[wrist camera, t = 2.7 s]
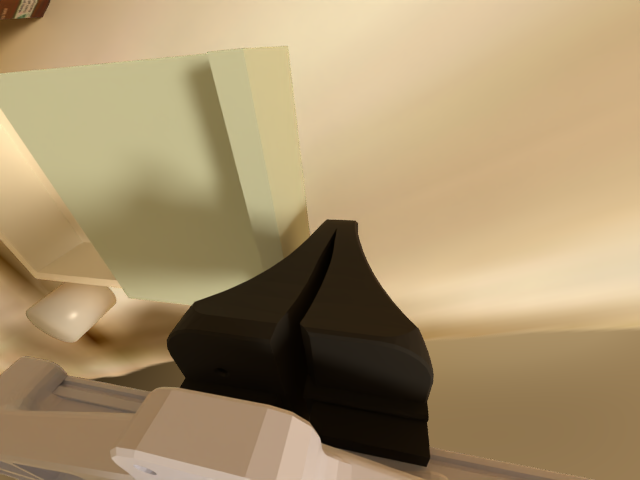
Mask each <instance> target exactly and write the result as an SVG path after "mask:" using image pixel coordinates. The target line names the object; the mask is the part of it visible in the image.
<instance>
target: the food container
mask: <svg viewBox="0 0 640 480" xmlns="http://www.w3.org/2000/svg"><path fill="white" fill-rule="evenodd" d="M49 3H50V0H0V19H18V18H37V17H43V15H44V13H45V11H46V9H47V7H48V5H49Z"/></svg>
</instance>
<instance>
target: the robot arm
mask: <svg viewBox="0 0 640 480" xmlns="http://www.w3.org/2000/svg"><path fill="white" fill-rule="evenodd" d="M167 347H168V350H169V352H170V355H171V356H172V358H173V359H174V361H175V362H176V364H177V365H178V367H179V368H180V370H181V372H182V373H183V375H184V376H185V380H184V382H183V383H182V385H181V387H180V388H177V387H160V388H157V389H155V390H153V391H152V392H149V391H144V390H138V389H134V388H128V387H124V386H119V385H113V384H108V383H103V382H98V381H93V380H88V379H83V378H78V377H73V376H68V375H67V373H66V372H65V371H64V370H63V369H62V368H61V367H60V366H59V365H57V364H56V363H54V362H51V361H48V360H44V359H39V358H33V357H28V356H23V357H21V358H19V359H18V360H17V361H16V362H15V363H14V364H12V365H11V366H10V367H9V368H8V369H7V370H5V371H4V372H3V373H2V374H1V375H0V474H3V475H6V476H9V477H12V478H15V479H18V480H593V479H588V478H583V477H578V476H573V475H568V474H563V473H558V472H553V471H547V470H543V469H538V468H533V467H528V466H522V465H518V464H513V463H507V462H502V461H497V460H492V459H487V458H482V457H477V456H472V455H467V454H462V453H457V452H452V451H447V450H442V449H437V448H432V447H429V438H428V428H427V422H428V406H427V400H428V397H429V394H430V390H431V387H432V384H433V368H432V364H431V360H430V357H429V353H428V350H427V348H426V345H425V342H424V340H423V337H422V335H421V333H420V330H419V328H417V327H416V326H415V325H414V324H413V323H412V322H411V321H410V320H409V319H408V318H407V317H406V316H405V315H404V314H403V312H402V311H401V310H400V309H399V308H398V307H397V306H396V304H395V303H394V302H393V301H392V300H391V298H390V297H389V296H388V294H387V293H386V292H385V290H384V289H383V288H382V286H381V285H380V283H379V282H378V280H377V278H376V277H375V275H374V273H373V272H372V270H371V268H370V266H369V264H368V262H367V259H366V257H365V255H364V252H363V250H362V246H361V243H360V240H359V236H358V223H357V222H356V221H350V220H326V221H325V222H324V223H323V224H322V225H321V226H320V227H319V228H318V229H317V230H316V231H315V232H314V233H313V234H312V235H311V236H310V237H309V238H308V239H307V240H306V241H305V242H303V243H302V244H301V245H300V246H299V247H298V248H297V249H295V250H294V251H293V252H292V253H291V254H290V255H288V256H287V257H286V258H284V259H283V260H281V261H280V262H278V263H277V264H275V265H274V266H272V267H271V268H269V269H268V270H266V271H264V272H262V273H260V274H259V275H257V276H255V277H253V278H252V279H250V280H248V281H246V282H243V283H241V284H239V285H237V286H235V287H232V288H230V289H228V290H225V291H223V292H220V293H218V294H215V295H212V296H209V297H207V298H204V299H201V300H198V301H195V302H194V303H193V304H192V305H191V307H190V308H189V309H188V311H187V312H186V313H185V315H184V316H183V317H182V319H181V320H180V321H179V323H178V324H177V325H176V327H175V328H174V329H173V331H172V332H171V333H170V335H169V337H168V339H167Z"/></svg>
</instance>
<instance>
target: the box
mask: <svg viewBox="0 0 640 480" xmlns="http://www.w3.org/2000/svg"><path fill="white" fill-rule="evenodd" d="M0 240H1V241H2V242H3V243H4V244H5V245H6V246H7V247H8V249H9V250H10V251H11V252H12V253H13V254H14V255H15V256H16V257H17V259H18V260H19V261H20V262H21V263H22V264H23V265H24V266H25V267H26V268H27V270H28V271H29V272H30V273H31V274H32V275H33V276H34V277H35V278H36V279H42V280H51V281H61V282H70V283H79V284H88V285H98V286H107V287H116V288H122V287H121V286H120V284H119V283H118V281H117V280H116V278H115V277H114V275H113V274H112V273H111V271H110V270H109V268H108V267H107V265H106V264H105V262H104V261H103V259H102V258H101V256H100V255H99V253H98V252H97V250H96V249H95V247H94V246H93V244H92V243H91V242H90V240H89V239H88V237H87V236H86V234H85V233H84V231H83V230H82V228H81V227H80V225H79V224H78V222H77V221H76V219H75V218H74V216H73V215H72V213H71V212H70V211H69V209H68V208H67V206H66V205H65V203H64V202H63V200H62V199H61V197H60V196H59V194H58V193H57V191H56V190H55V188H54V187H53V185H52V184H51V182H50V181H49V180H48V178H47V177H46V175H45V174H44V172H43V171H42V169H41V168H40V166H39V165H38V163H37V162H36V160H35V159H34V157H33V156H32V154H31V153H30V151H29V150H28V149H27V147H26V146H25V144H24V143H23V141H22V140H21V138H20V137H19V135H18V134H17V132H16V131H15V129H14V128H13V126H12V125H11V123H10V122H9V120H8V119H7V118H6V116H5V115H4V113H3V112H2V110H1V109H0Z"/></svg>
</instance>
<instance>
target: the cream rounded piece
mask: <svg viewBox="0 0 640 480" xmlns="http://www.w3.org/2000/svg"><path fill="white" fill-rule="evenodd" d="M115 304H116V297H115V295H114V293H113V292H112V291H111V290H110V289H109V288H108V287H107V286H98V285H88V284H79V283H70V282H64V283H63V284H62V285H60V286H59V287H58V288H56V289H55V290H54V291H52V292H51V293H49V294H48V295H47V296H45V297H44V298H43V299H41V300H40V301H39V302H37V303H36V304H35V305H33V306H32V307H31V308H29V309H28V310H27V311H26V315H27V317H28V319H29V320H30V321H31V322H32V323H33V324H34V325H35V326H36V327H37V328H39V329H40V330H41V331H43V332H45V333H46V334H48V335H50V336H52V337H54V338H56V339H59V340H61V341H65V342H76V341H77V340H78V339H79V338H80V337H82V336H83V335H84V334H85V333H86V332H87V331H88V330H89V329H90V328H91V327H92V326H93V325H94V324H95V323H96V322H97V321H98V320H99V319H100V318H101V317H102V316H103V315H104V314H105V313H106V312H107V311H109V310H110V309H111V308H112V307H113V306H114V305H115Z"/></svg>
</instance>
